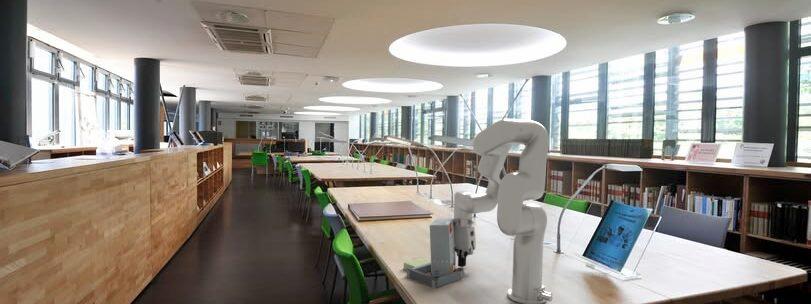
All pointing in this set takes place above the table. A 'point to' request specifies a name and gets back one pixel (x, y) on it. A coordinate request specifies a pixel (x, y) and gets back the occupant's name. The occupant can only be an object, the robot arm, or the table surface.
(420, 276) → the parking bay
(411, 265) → the light green block
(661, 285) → the table surface
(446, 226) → the hard drive box
